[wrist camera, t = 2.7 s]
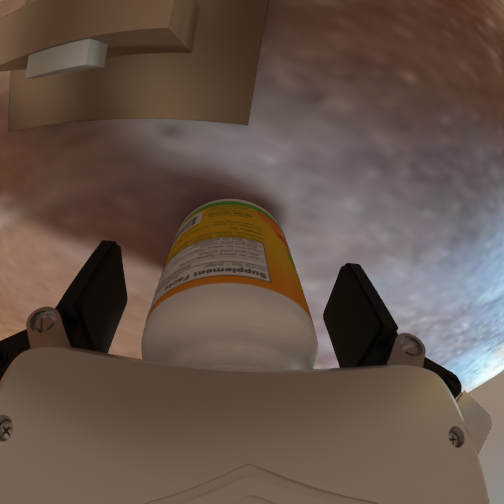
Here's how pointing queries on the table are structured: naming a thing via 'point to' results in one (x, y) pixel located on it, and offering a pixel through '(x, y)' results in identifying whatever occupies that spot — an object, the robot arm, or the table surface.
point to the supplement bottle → (230, 295)
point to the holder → (131, 60)
